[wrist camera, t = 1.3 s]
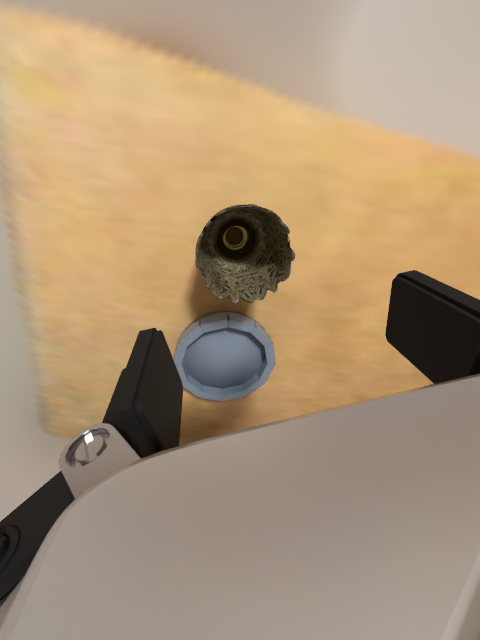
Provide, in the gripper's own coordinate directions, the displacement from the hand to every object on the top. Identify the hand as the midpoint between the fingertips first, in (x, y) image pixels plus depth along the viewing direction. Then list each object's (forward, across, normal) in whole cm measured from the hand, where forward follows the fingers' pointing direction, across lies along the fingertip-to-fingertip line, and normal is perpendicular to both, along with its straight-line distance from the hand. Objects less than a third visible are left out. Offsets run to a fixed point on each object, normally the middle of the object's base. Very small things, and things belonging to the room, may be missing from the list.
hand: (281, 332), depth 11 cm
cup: (+18, 0, 0) cm, 19 cm away
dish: (+18, +4, +14) cm, 23 cm away
